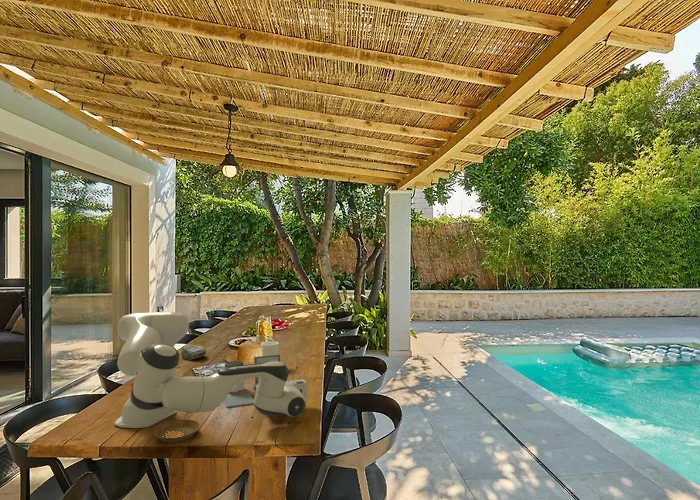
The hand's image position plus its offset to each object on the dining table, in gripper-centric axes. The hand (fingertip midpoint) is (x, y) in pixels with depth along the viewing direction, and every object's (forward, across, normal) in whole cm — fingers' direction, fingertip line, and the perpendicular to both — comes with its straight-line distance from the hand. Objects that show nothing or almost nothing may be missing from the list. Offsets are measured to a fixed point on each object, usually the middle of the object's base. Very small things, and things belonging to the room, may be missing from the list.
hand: (277, 382), depth 174 cm
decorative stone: (+88, -29, -8) cm, 93 cm away
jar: (+22, -15, -8) cm, 28 cm away
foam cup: (+52, +8, -8) cm, 53 cm away
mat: (+6, -15, -8) cm, 18 cm away
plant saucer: (-18, -39, -8) cm, 44 cm away
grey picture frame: (+16, 0, +1) cm, 17 cm away
